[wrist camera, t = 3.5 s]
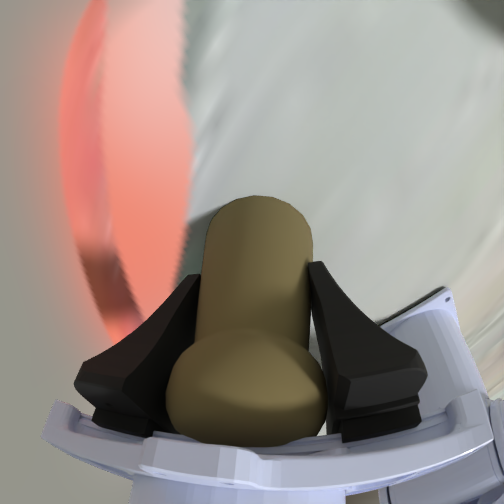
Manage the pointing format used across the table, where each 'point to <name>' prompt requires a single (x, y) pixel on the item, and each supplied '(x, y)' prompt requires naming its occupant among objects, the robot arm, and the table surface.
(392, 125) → the table surface
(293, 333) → the cork
